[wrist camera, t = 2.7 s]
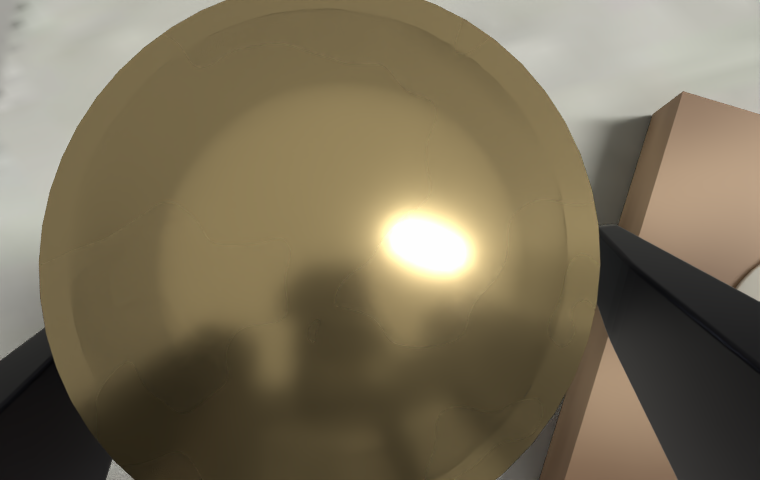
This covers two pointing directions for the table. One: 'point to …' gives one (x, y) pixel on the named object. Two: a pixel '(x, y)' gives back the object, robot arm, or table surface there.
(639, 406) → the stand
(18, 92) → the table surface
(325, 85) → the housing
